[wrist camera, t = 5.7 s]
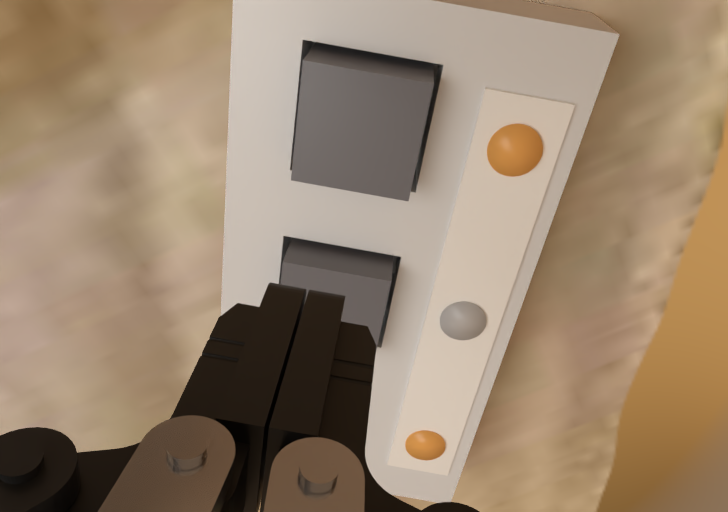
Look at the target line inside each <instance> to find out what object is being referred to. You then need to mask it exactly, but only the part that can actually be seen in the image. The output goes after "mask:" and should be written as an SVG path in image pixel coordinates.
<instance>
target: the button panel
mask: <svg viewBox="0 0 728 512" xmlns="http://www.w3.org/2000/svg"><path fill="white" fill-rule="evenodd" d="M619 35H620V34H619V33H617V32H616V31H615V30H614V29H612V28H611V27H610V26H608V25H607V24H606V23H605V22H603V21H602V20H601V19H600V18H598V17H597V16H596V15H594V14H593V13H591V12H585V11H580V10H574V9H569V8H563V7H558V6H552V5H547V4H541V3H536V2H530V1H525V0H233V16H232V42H231V68H230V93H229V119H228V145H227V170H226V196H225V222H224V248H223V273H222V299H221V316H222V315H223V314H224V313H225V312H227V311H228V310H229V309H230V308H232V307H233V306H234V305H236V304H237V303H241V304H246V305H252V306H257V307H260V304H261V302H262V299H263V296H264V294H265V291H266V289H267V286H268V284H269V283H270V282H271V283H276V284H281V274H282V264H283V260H284V257H285V255H286V252H287V249H288V247H289V244H290V242H291V239H292V237H293V238H299V239H304V240H310V241H315V242H321V243H327V244H332V245H338V246H343V247H349V248H355V249H360V250H366V251H371V252H377V253H382V254H388V255H394V257H393V268H392V279H391V285H390V290H389V294H388V299H387V304H386V308H385V313H384V317H383V322H382V327H381V331H380V336H379V341H378V345H377V350H376V355H375V363H374V372H373V382H372V391H371V400H370V409H369V418H368V427H367V436H366V446H365V458H366V463H367V466H368V469H369V471H370V473H371V474H372V476H373V478H374V479H375V480H376V482H377V483H378V484H379V485H380V486H381V487H382V488H383V489H384V490H385V491H387V492H388V493H389V494H392V495H397V496H403V497H409V498H414V499H420V500H426V501H431V502H437V503H441V502H451V500H452V497H453V495H454V492H455V489H456V486H457V484H458V481H459V478H460V475H461V473H462V470H463V467H464V464H465V461H466V459H467V456H468V453H469V450H470V448H471V445H472V442H473V439H474V437H475V434H476V431H477V428H478V425H479V423H480V420H481V417H482V414H483V412H484V409H485V406H486V403H487V400H488V398H489V395H490V392H491V389H492V387H493V384H494V381H495V378H496V376H497V373H498V370H499V367H500V364H501V362H502V359H503V356H504V353H505V351H506V348H507V345H508V342H509V340H510V337H511V334H512V331H513V328H514V326H515V323H516V320H517V317H518V315H519V312H520V309H521V306H522V304H523V301H524V298H525V295H526V292H527V290H528V287H529V284H530V281H531V279H532V276H533V273H534V270H535V268H536V265H537V262H538V259H539V256H540V254H541V251H542V248H543V245H544V243H545V240H546V237H547V234H548V231H549V229H550V226H551V223H552V220H553V218H554V215H555V212H556V209H557V207H558V204H559V201H560V198H561V195H562V193H563V190H564V187H565V184H566V182H567V179H568V176H569V173H570V171H571V168H572V165H573V162H574V159H575V157H576V154H577V151H578V148H579V146H580V143H581V140H582V137H583V135H584V132H585V129H586V126H587V123H588V121H589V118H590V115H591V112H592V110H593V107H594V104H595V101H596V99H597V96H598V93H599V90H600V87H601V85H602V82H603V79H604V76H605V74H606V71H607V68H608V65H609V62H610V60H611V57H612V54H613V51H614V49H615V46H616V43H617V40H618V38H619ZM315 42H319V43H325V44H330V45H336V46H341V47H347V48H352V49H358V50H363V51H369V52H374V53H380V54H385V55H391V56H396V57H402V58H408V59H413V60H419V61H424V62H430V63H433V73H434V85H433V90H432V95H431V99H430V104H429V109H428V113H427V118H426V123H425V127H424V132H423V137H422V141H421V146H420V150H419V155H418V160H417V164H416V169H415V174H414V178H413V183H412V188H411V192H410V197H409V201H403V200H397V199H392V198H386V197H380V196H375V195H369V194H364V193H358V192H353V191H347V190H342V189H336V188H330V187H325V186H319V185H314V184H308V183H303V182H297V181H291V174H292V164H293V154H294V144H295V134H296V124H297V114H298V104H299V94H300V84H301V74H302V64H303V59H304V58H305V57H306V55H307V54H308V52H309V51H310V49H311V48H312V47H313V45H314V44H315Z"/></svg>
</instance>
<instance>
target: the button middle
mask: <svg viewBox="0 0 728 512" xmlns="http://www.w3.org/2000/svg"><path fill="white" fill-rule="evenodd" d="M393 257H394V255H388V254H382V253H377V252H371V251H366V250H360V249H355V248H349V247H343V246H338V245H332V244H327V243H321V242H315V241H310V240H304V239H299V238H293V237H292V239H291V242H290V244H289V247H288V249H287V252H286V255H285V257H284V260H283V264H282V274H281V284H282V285H287V286H293V287H299V288H304V289H307V294H306V298H307V295H308V291H309V289H310V290H316V291H322V292H327V293H333V294H338V295H344V296H346V297H345V303H344V309H343V314H342V320H341V321H342V322H347V323H353V324H358V325H364V326H368V328H369V330H370V332H371V335H372V337H373V339H374V341H375V343H376V350H377V345H378V341H379V336H380V331H381V327H382V322H383V317H384V313H385V308H386V304H387V299H388V294H389V290H390V285H391V279H392V268H393ZM375 355H376V354H375Z"/></svg>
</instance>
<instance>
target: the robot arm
mask: <svg viewBox="0 0 728 512" xmlns="http://www.w3.org/2000/svg"><path fill="white" fill-rule="evenodd" d="M306 294H307V289H304V288H299V287H293V286H287V285H282V284H276V283H271V282H270V283H269V284H268V286H267V289H266V291H265V294H264V296H263V299H262V302H261V304H260V307H257V306H252V305H246V304H241V303H237V304H236V305H234V306H233V307H232V308H230V309H229V310H228V311H227V312H225V313H224V314H223V315H222V316H220V317H219V318H218V321H217V323H216V325H215V327H214V329H213V331H212V333H211V335H210V339H209V340H208V342H207V344H206V346H205V348H204V350H203V352H202V356H200V358H199V360H198V362H197V365H196V367H195V369H194V371H193V373H192V375H191V377H190V379H189V381H188V383H187V385H186V388H185V390H184V392H183V394H182V396H181V398H180V400H179V402H178V404H177V406H176V408H175V411H174V413H173V415H172V416H171V418H170V419H169V420H166V421H164V422H162V423H160V424H158V425H157V426H155V427H154V428H153V429H151V430H150V431H149V432H148V433H147V434H146V435H145V437H144V438H143V439H142V441H141V442H140V443H137V444H135V445H132V446H128V447H124V448H118V449H110V450H100V451H90V452H79V453H77V451H76V448H75V446H74V444H73V442H72V441H71V440H70V439H69V438H68V437H67V436H66V435H64V434H63V433H61V432H58V431H56V430H53V429H48V428H40V427H35V428H24V429H18V430H15V431H11V432H8V433H6V434H3V435H1V436H0V512H258V510H259V506H260V502H261V508H260V512H479V511H478V510H476V509H474V508H472V507H469V506H467V505H464V504H460V503H454V502H441V503H436V504H433V505H430V506H428V507H427V508H425V509H423V510H422V511H421V510H419V509H417V508H415V507H413V506H411V505H409V504H407V503H405V502H403V501H401V500H399V499H397V498H396V497H394V496H392V495H391V494H389V493H388V492H387V491H385V490H384V489H383V488H382V487H381V486H380V485H379V484H378V483H377V482H376V480H375V479H374V478H373V476H372V474H371V473H370V471H369V469H368V466H367V463H366V458H365V446H366V436H367V427H368V418H369V409H370V400H371V391H372V382H373V372H374V363H375V354H376V343H375V341H374V339H373V337H372V335H371V332H370V330H369V328H368V326H364V325H358V324H353V323H347V322H342V321H341V320H342V314H343V309H344V303H345V297H346V296H344V295H338V294H333V293H327V292H322V291H316V290H310V289H309V291H308V295H307V298H306Z"/></svg>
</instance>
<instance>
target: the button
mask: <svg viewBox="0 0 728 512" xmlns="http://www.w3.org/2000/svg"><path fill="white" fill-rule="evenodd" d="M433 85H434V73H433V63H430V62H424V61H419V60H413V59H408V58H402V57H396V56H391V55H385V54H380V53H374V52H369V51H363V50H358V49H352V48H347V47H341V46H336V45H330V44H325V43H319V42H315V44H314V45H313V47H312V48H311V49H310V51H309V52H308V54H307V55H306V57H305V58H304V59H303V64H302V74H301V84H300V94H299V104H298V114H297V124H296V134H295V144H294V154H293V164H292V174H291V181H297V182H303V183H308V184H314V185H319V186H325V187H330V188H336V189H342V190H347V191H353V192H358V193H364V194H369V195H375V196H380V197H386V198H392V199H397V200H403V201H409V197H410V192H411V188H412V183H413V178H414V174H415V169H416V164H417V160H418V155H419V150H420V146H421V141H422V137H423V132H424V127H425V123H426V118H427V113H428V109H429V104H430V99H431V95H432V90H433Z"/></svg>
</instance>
